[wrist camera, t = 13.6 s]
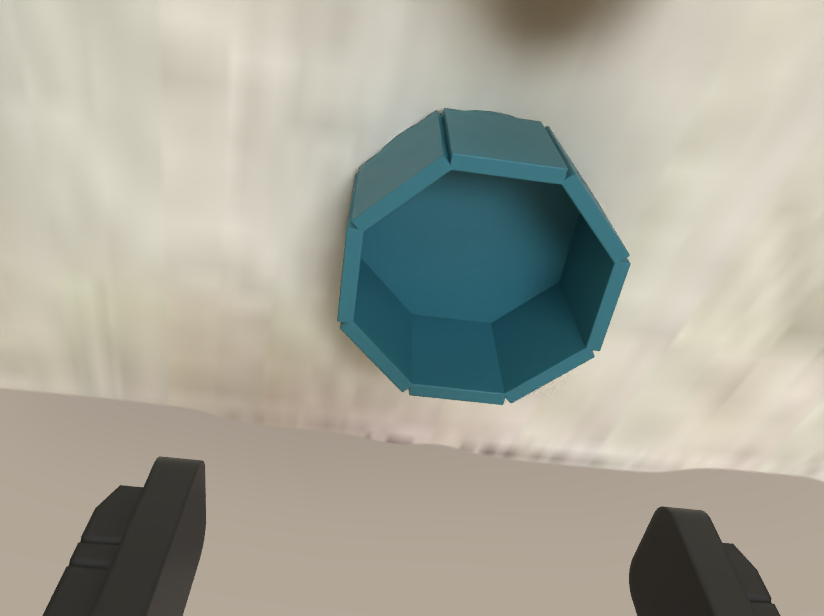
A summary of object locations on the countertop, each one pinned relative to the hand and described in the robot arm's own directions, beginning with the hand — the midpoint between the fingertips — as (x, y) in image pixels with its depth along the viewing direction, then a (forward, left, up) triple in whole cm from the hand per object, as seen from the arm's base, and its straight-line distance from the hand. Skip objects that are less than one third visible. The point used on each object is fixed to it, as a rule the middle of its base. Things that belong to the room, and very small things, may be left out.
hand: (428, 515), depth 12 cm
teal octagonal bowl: (+4, -7, -28) cm, 29 cm away
